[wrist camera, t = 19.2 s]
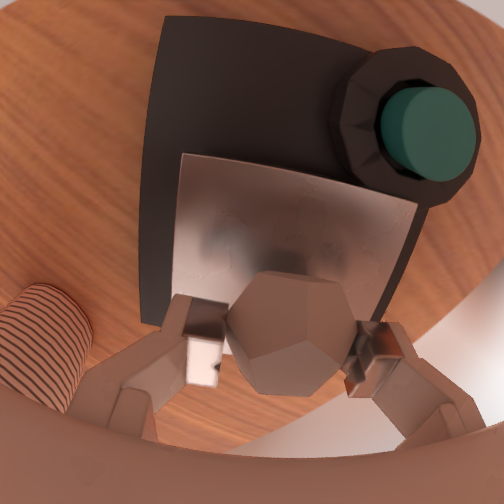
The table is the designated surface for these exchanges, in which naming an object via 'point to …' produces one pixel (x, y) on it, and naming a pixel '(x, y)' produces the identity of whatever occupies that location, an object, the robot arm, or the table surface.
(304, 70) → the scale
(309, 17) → the table surface
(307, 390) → the polyhedron
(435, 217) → the table surface
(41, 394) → the cup
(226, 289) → the pan
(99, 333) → the table surface
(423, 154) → the button
